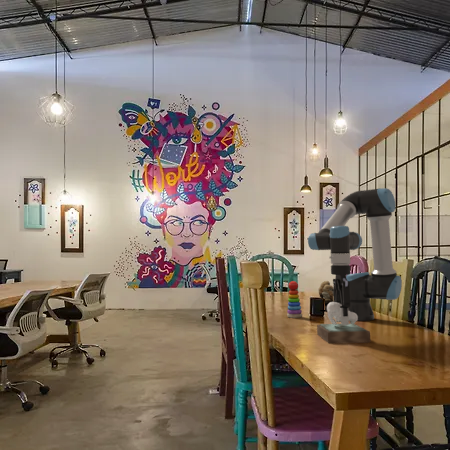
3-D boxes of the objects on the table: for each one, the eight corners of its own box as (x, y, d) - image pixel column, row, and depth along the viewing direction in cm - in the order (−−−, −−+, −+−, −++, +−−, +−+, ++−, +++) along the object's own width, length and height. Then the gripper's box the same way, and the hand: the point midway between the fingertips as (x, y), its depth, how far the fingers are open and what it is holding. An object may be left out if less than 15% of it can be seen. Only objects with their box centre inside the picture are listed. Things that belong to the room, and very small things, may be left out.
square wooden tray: (355, 333, 171) (355, 323, 171) (370, 342, 155) (369, 330, 155) (317, 334, 170) (317, 323, 171) (328, 343, 154) (327, 331, 155)
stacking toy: (301, 315, 220) (300, 280, 221) (303, 318, 212) (302, 281, 213) (286, 315, 221) (286, 280, 222) (287, 318, 213) (286, 281, 214)
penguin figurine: (326, 300, 167) (357, 303, 166) (325, 321, 167) (355, 324, 165) (328, 302, 161) (359, 305, 159) (326, 324, 161) (358, 327, 159)
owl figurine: (339, 312, 231) (338, 282, 232) (317, 312, 234) (316, 282, 235) (339, 308, 248) (338, 279, 249) (319, 307, 251) (318, 279, 252)
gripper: (324, 264, 174) (326, 319, 173) (338, 265, 155) (340, 327, 153) (342, 263, 174) (343, 319, 173) (358, 265, 155) (360, 327, 154)
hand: (342, 323), depth 163 cm, fingers closed on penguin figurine, 6 cm apart
